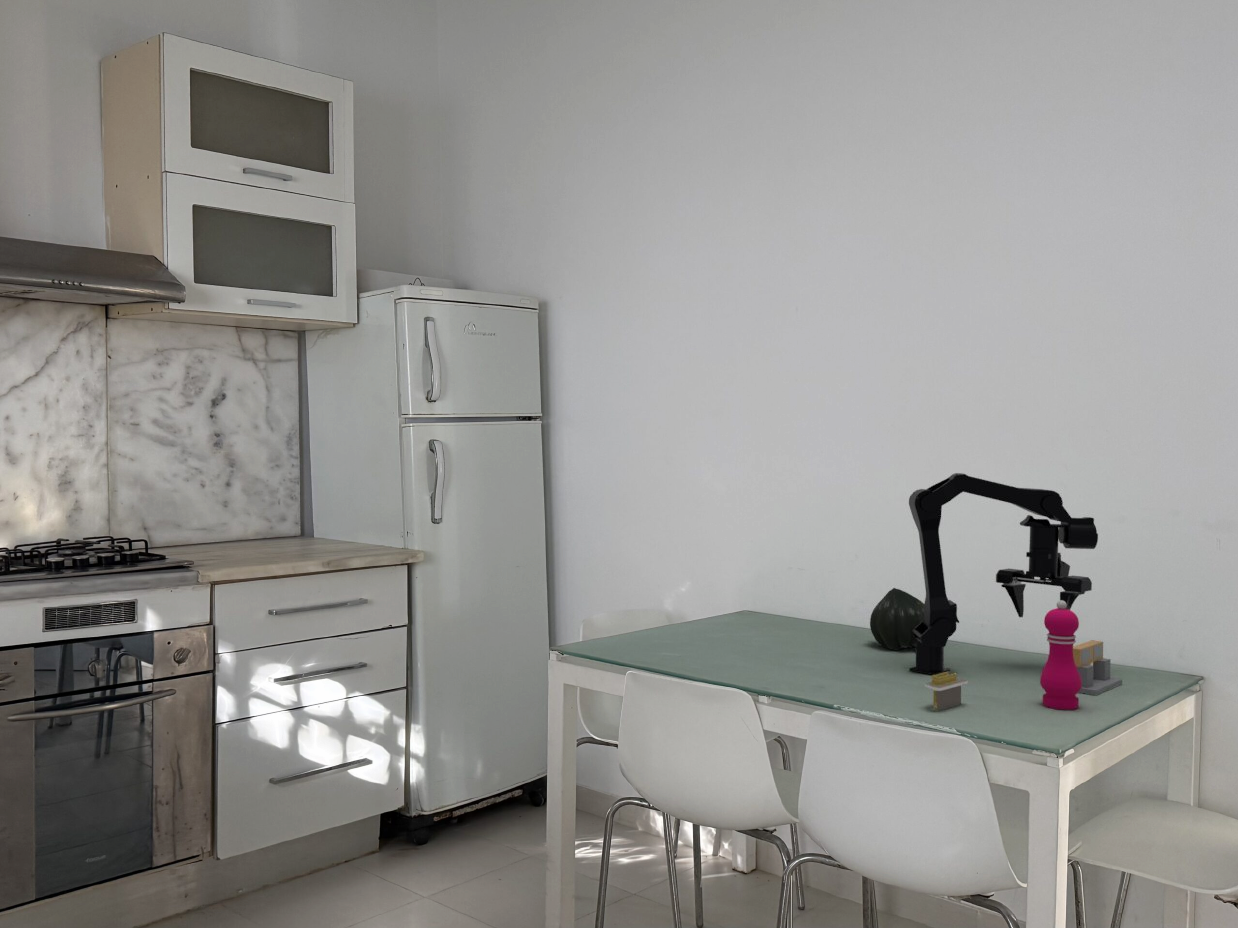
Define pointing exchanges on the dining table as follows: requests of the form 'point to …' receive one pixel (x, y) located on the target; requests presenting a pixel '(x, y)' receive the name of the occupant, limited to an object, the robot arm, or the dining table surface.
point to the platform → (946, 690)
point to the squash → (896, 620)
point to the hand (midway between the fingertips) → (1041, 620)
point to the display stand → (1097, 677)
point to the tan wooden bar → (1087, 652)
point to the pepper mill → (1061, 660)
